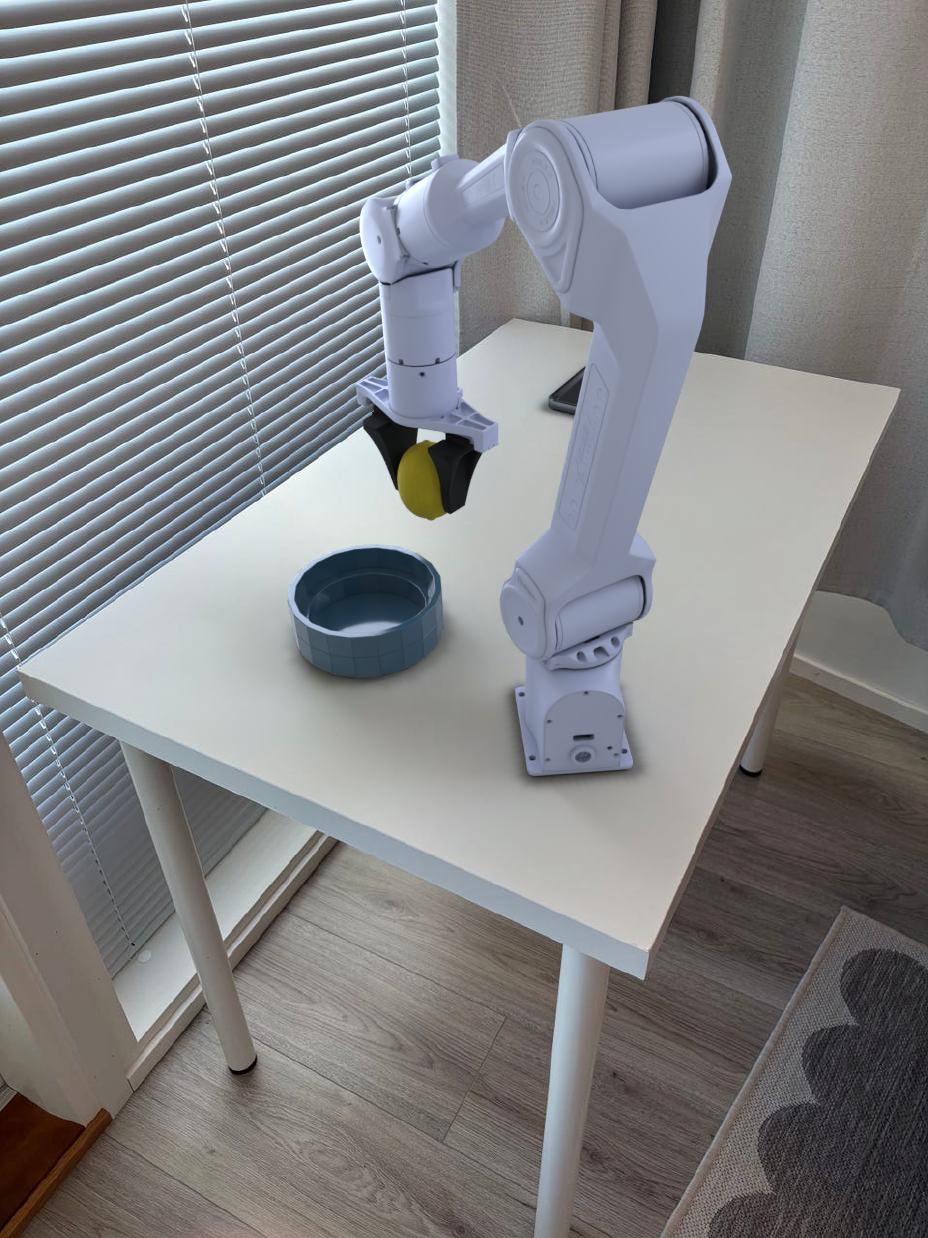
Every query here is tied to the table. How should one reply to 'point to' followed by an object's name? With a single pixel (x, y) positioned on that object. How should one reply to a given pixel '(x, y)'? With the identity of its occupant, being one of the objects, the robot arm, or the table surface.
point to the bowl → (366, 610)
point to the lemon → (420, 482)
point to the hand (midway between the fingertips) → (430, 497)
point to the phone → (567, 394)
